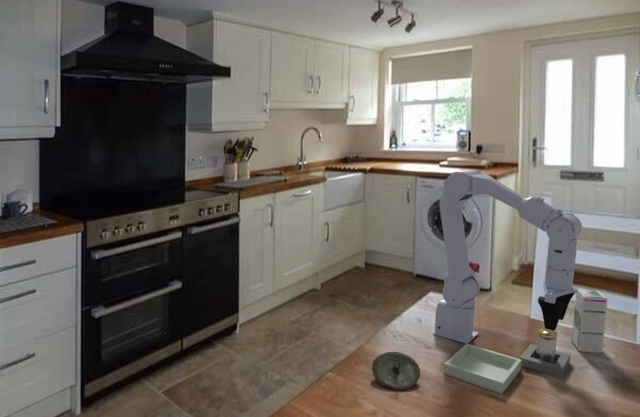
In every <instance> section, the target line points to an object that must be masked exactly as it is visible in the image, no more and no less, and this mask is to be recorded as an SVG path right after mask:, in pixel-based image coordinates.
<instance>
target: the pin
mask: <svg viewBox="0 0 640 417" xmlns="http://www.w3.org/2000/svg"><path fill="white" fill-rule="evenodd" d="M557 337H558V333H557V331H556V330H555V331H553V330H549V329H545V328H540V329H538V330H537V340H536V345H537V349H536V356H535V358H536V359H539V360H543V361H546V362H549V363H553V364H555V362H554V360H555V351H557V350H556V349H557V348H556V347H557V339H558V338H557Z"/></svg>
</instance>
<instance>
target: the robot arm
mask: <svg viewBox="0 0 640 417" xmlns="http://www.w3.org/2000/svg"><path fill="white" fill-rule="evenodd" d="M479 195H488V196H489V197H491V198H494V199H495V200H498V201H500V202H502V203H503V204H505V205H507V206H508V207H511V208H513V209H515V210H517V213H518V217H519V218H520V219H522V220H524V221H525V222H527V223H529V224H530V225H532V226H534V227H535V228H537V229H539V230H541V231H543V232H546V235H547V237H548V239H549V241H548V247H547V256H546V267H545V273H544V275H545V276H544V283H543V288H542V289H543V290H544V293H545V296H541V295H540V296H538V298H537V302H538V305H539V307H540V310H541V312H542V317H543V318H542V319H543V325H544V329H549V330H553V331H555V332H556V329H557V326H558V325H559V320H560V321H563V320H564V318H565V316H566V312H567V311H568V310H567V309H568V306H569V304H570V302H571V300H572V298H573V297H574V295H576V293H577V292H578V289H579V288H577V287H573V283H574V278H575V276H574V275H575V267H576V259H577V258H576V257H577V245H578V238H577V237H578V236H579V235H580V233H581V232H582V229H583V225H582V221H581V220H580V218H579V217H578V216H576V215H575V214H574V213H573V212H564V209H562V208H558V209H557V208H556V207H554V206H552V205H550V204H549V203H547V202H545V198H544V197H542V196H538V197H535V196H529V197H524V196H523V195H521V194H520V193H518V192H516V191H515V190H513V189H511V187H508V186H506V185H505V184H503V183H501V181H498V180H497V179H495V178H493V176H491V175H490V174H488V173H485V172H482V171H480V170H479V169H475V168H473V169H468V170H462V171H460V170H459V171H455V172H452V173H451V174H449V176H447V178H446V179H445V180H444V181H443V190H442V193H441V196H440V200H439V211H440V218H441V225H442V231H443V232H442V234H443V240H444V247H445V256H446V263H447V270H446V273H445V275H444V277H443V282H444V283H443V284H444V285H443V288H442V293H441V294H442V298H443V299H440V300H439V301H438V303H437V305H436V310H435V318H434V320H435V323H434V331H433V335H434V336H438V337H439V336H440V337H441V338H446V339H449V340H452V341H455V342H459V343H463V344H464V345H466V344H469V343H471V341H472V340H473V339H475V338H476V337H477V336H478V335H479V332H478V331H474V320H475V309H476V308H475V307H476V305H475V304H476V303H475V302H476V301H475V300H476V299H475V298H476V297H478V295H479V294H480V291H481V290H480V289H481V288H480V283H479V281H478V279H477V278H476V275H475V271H474V270H473V268H472V267H470V261H469V256H468V255H469V254H468V247H467V239H466V232H465V226H464V224H465V223H464V217H463V216H464V215H463V209H462V208H463V206H464V205H465V204H466V203H467V202H468V201H469V199H470V198H472V197H473V196H479Z"/></svg>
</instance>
